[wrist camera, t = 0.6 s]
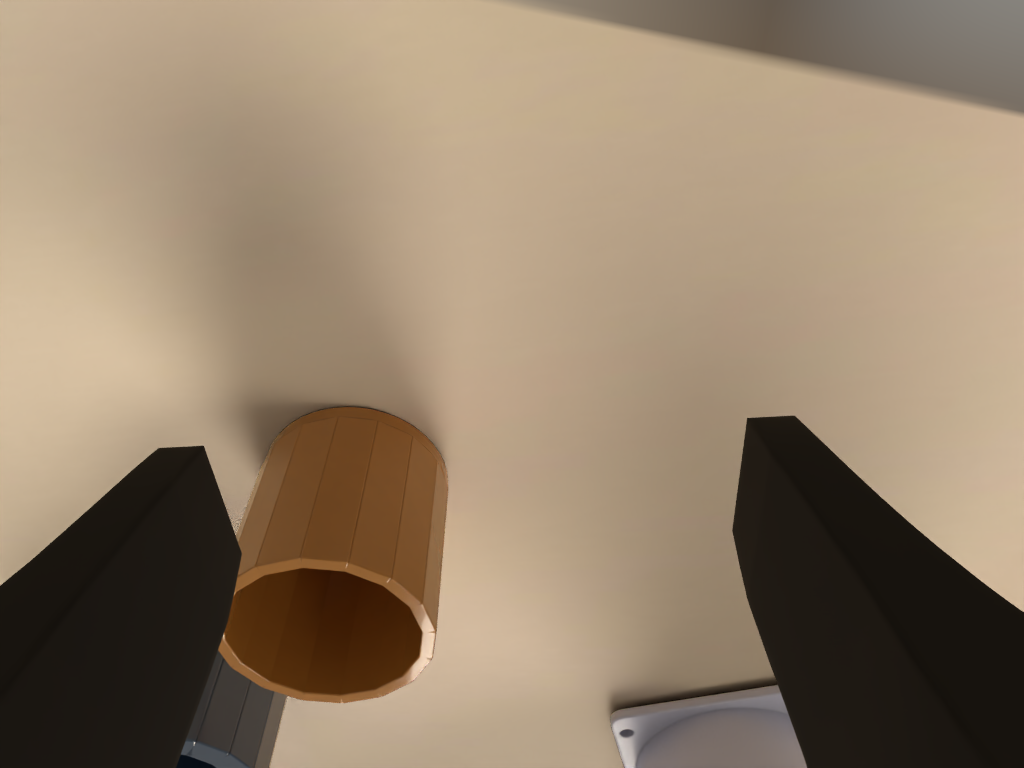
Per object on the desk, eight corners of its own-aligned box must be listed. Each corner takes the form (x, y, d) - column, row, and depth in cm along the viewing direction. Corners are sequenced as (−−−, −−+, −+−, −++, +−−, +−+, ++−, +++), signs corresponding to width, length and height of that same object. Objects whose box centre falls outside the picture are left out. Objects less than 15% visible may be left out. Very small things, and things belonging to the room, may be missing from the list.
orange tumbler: (469, 524, 25) (462, 684, 21) (308, 555, 26) (266, 716, 21) (415, 388, 22) (392, 540, 18) (234, 427, 23) (167, 582, 18)
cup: (300, 630, 28) (271, 751, 24) (282, 719, 31) (253, 839, 27) (65, 591, 27) (-3, 713, 23) (70, 688, 30) (10, 809, 26)
